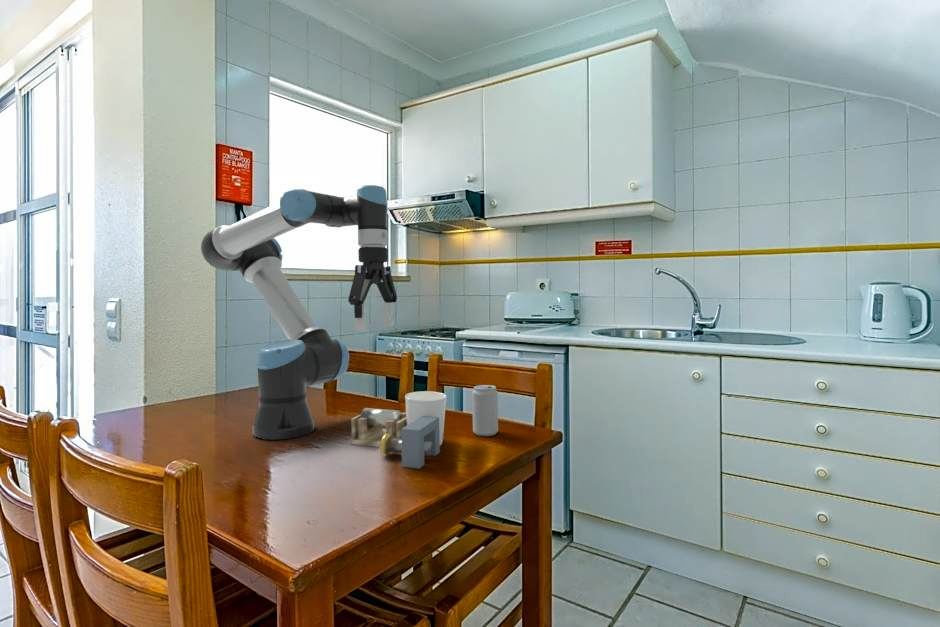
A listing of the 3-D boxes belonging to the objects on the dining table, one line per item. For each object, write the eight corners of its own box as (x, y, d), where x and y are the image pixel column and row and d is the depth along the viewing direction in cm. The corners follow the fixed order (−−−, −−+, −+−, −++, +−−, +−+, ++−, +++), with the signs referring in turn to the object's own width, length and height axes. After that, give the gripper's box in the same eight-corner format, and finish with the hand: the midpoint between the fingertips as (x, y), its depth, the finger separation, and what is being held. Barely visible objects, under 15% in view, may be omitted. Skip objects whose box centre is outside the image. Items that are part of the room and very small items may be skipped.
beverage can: (496, 437, 128) (495, 389, 127) (470, 436, 129) (469, 388, 128) (499, 430, 134) (499, 384, 133) (475, 429, 135) (474, 383, 135)
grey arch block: (402, 466, 109) (401, 428, 108) (423, 450, 119) (422, 416, 118) (419, 468, 107) (418, 430, 107) (439, 452, 117) (439, 417, 117)
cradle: (349, 443, 125) (348, 419, 124) (370, 432, 134) (370, 409, 134) (400, 448, 120) (399, 423, 120) (418, 436, 130) (418, 412, 129)
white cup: (450, 441, 128) (451, 392, 127) (438, 453, 118) (439, 401, 118) (412, 437, 130) (413, 389, 130) (397, 449, 121) (398, 398, 120)
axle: (358, 422, 126) (363, 405, 128) (366, 429, 129) (371, 412, 132) (391, 424, 123) (396, 407, 125) (398, 432, 126) (403, 415, 129)
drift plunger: (380, 457, 114) (379, 436, 113) (390, 451, 118) (389, 431, 118) (426, 462, 110) (425, 441, 110) (434, 455, 114) (434, 435, 114)
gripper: (359, 243, 122) (361, 333, 123) (408, 249, 145) (409, 325, 146) (332, 244, 124) (334, 332, 126) (384, 250, 148) (386, 324, 149)
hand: (374, 328), depth 136 cm, fingers open, 13 cm apart
